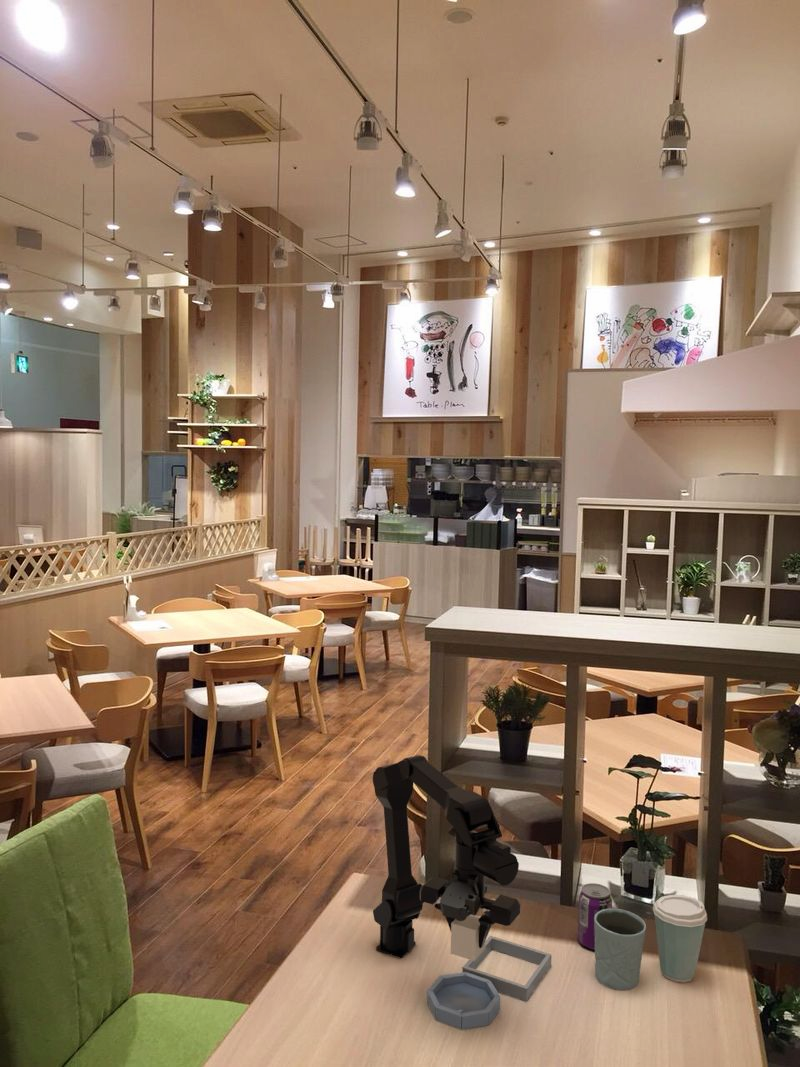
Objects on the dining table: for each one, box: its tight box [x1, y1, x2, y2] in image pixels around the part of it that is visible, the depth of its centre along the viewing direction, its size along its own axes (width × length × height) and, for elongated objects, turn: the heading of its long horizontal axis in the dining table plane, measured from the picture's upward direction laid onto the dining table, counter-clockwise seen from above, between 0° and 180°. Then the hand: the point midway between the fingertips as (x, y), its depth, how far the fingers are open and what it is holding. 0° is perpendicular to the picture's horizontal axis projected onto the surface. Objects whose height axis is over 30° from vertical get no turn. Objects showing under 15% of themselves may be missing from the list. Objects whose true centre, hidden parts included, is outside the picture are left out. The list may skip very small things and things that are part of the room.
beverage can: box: [577, 882, 613, 950], centre depth 183 cm, size 7×7×12 cm
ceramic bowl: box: [426, 971, 502, 1031], centre depth 161 cm, size 13×13×2 cm
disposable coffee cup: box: [652, 894, 708, 984], centre depth 172 cm, size 11×11×15 cm
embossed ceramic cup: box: [594, 908, 647, 991], centre depth 170 cm, size 10×10×12 cm
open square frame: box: [461, 935, 552, 1002], centre depth 172 cm, size 14×14×2 cm
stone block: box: [450, 914, 487, 961], centre depth 161 cm, size 5×5×6 cm
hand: (468, 943), depth 161 cm, fingers closed on stone block, 5 cm apart
